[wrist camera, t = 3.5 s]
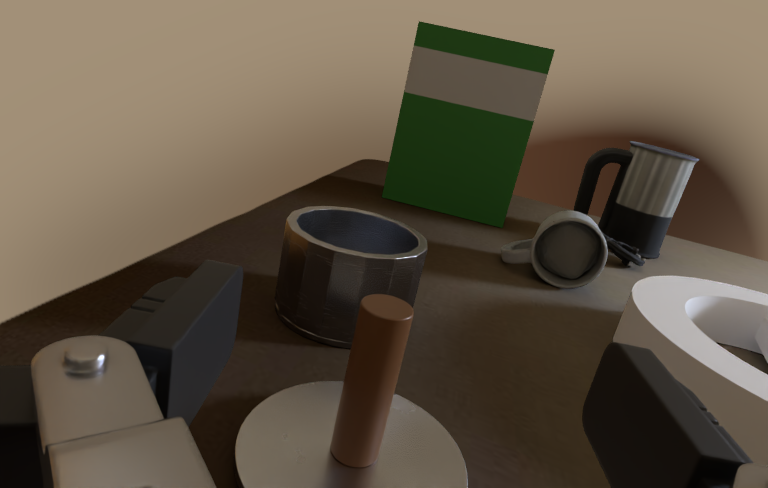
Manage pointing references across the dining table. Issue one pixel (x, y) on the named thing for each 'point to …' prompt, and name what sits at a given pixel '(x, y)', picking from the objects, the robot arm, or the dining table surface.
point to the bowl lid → (351, 422)
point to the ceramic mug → (562, 250)
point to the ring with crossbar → (707, 348)
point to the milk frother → (637, 197)
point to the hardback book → (465, 122)
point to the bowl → (343, 269)
